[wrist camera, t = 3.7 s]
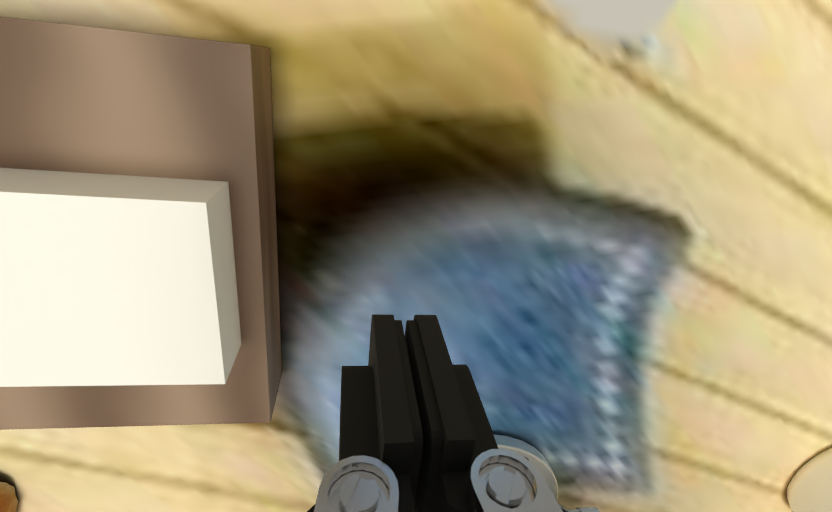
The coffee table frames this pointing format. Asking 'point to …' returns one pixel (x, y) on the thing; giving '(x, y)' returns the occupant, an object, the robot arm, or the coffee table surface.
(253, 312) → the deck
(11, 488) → the pastry
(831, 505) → the alcohol
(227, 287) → the white block
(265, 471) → the coffee table surface
